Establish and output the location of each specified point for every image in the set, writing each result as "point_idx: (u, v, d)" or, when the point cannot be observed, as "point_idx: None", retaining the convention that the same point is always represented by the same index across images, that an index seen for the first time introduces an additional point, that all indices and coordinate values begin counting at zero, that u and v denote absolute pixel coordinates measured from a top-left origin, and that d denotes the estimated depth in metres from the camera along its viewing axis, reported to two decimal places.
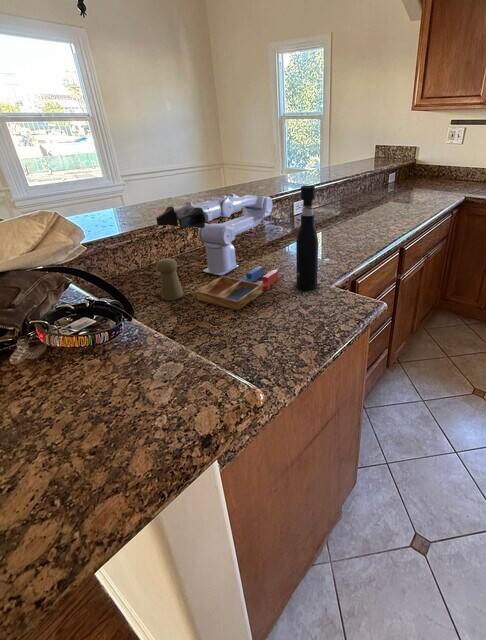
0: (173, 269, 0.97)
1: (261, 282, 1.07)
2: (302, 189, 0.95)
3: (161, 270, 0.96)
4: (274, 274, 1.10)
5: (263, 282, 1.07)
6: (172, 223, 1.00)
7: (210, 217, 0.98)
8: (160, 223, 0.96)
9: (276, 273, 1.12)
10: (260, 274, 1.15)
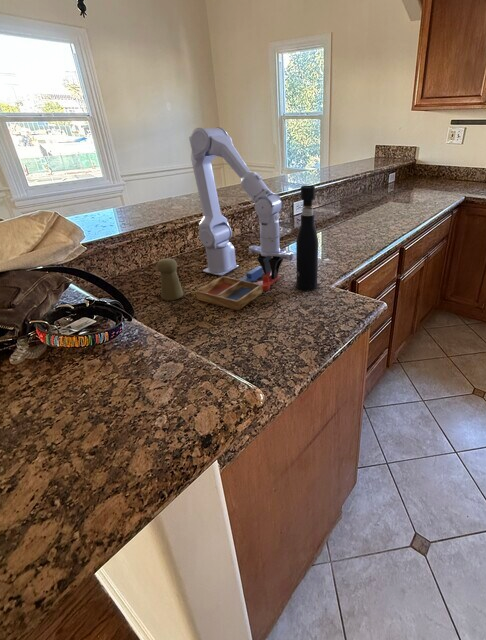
0: (173, 269, 0.97)
1: (261, 282, 1.07)
2: (302, 189, 0.95)
3: (161, 270, 0.96)
4: None
5: (263, 282, 1.07)
6: None
7: (291, 256, 1.05)
8: None
9: None
10: (260, 274, 1.15)
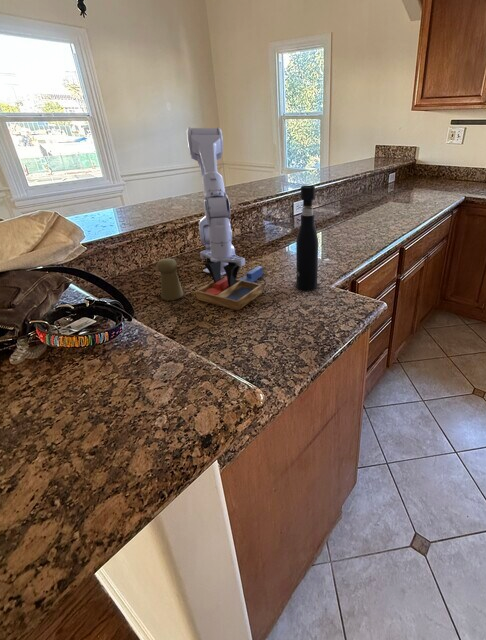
0: (173, 269, 0.97)
1: (212, 290, 1.01)
2: (302, 189, 0.95)
3: (161, 270, 0.96)
4: (227, 280, 1.04)
5: (214, 290, 1.01)
6: (219, 265, 1.05)
7: (243, 262, 0.98)
8: (219, 280, 1.06)
9: None
10: (260, 274, 1.15)
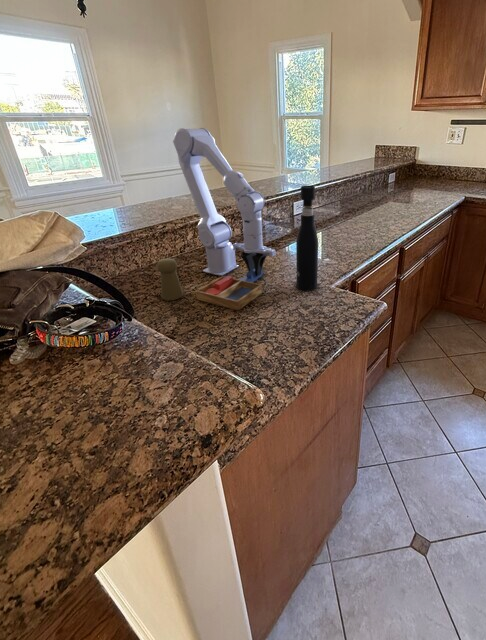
0: (173, 269, 0.97)
1: (212, 290, 1.01)
2: (302, 189, 0.95)
3: (161, 270, 0.96)
4: (227, 280, 1.04)
5: (214, 290, 1.01)
6: None
7: (274, 253, 1.07)
8: None
9: (230, 280, 1.05)
10: (260, 274, 1.15)
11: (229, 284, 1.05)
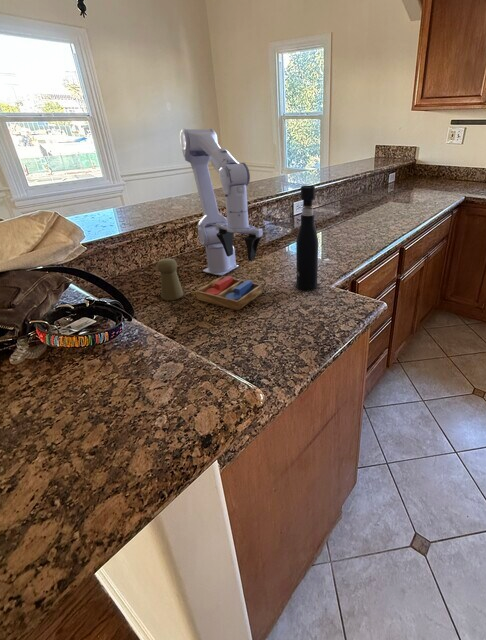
0: (173, 269, 0.97)
1: (212, 290, 1.01)
2: (302, 189, 0.95)
3: (161, 270, 0.96)
4: (227, 280, 1.04)
5: (214, 290, 1.01)
6: (232, 237, 1.02)
7: (260, 232, 0.95)
8: (231, 253, 1.03)
9: (230, 280, 1.05)
10: (250, 289, 1.03)
11: (229, 284, 1.05)
